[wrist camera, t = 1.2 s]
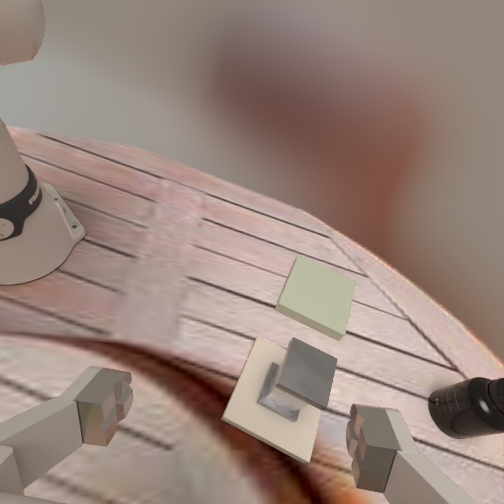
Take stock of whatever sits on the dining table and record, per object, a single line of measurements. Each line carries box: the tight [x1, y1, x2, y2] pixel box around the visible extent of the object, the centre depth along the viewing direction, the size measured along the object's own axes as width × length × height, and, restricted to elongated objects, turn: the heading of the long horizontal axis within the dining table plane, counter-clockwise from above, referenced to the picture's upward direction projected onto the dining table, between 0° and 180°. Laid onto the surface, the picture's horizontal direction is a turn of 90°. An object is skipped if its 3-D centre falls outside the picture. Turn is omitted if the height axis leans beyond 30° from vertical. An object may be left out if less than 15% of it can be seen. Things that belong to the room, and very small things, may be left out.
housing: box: [256, 337, 337, 422], centre depth 36 cm, size 6×6×11 cm
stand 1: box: [221, 336, 321, 463], centre depth 41 cm, size 12×12×2 cm
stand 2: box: [275, 255, 356, 340], centre depth 53 cm, size 12×12×2 cm
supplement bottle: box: [429, 377, 504, 439], centre depth 41 cm, size 7×7×12 cm
